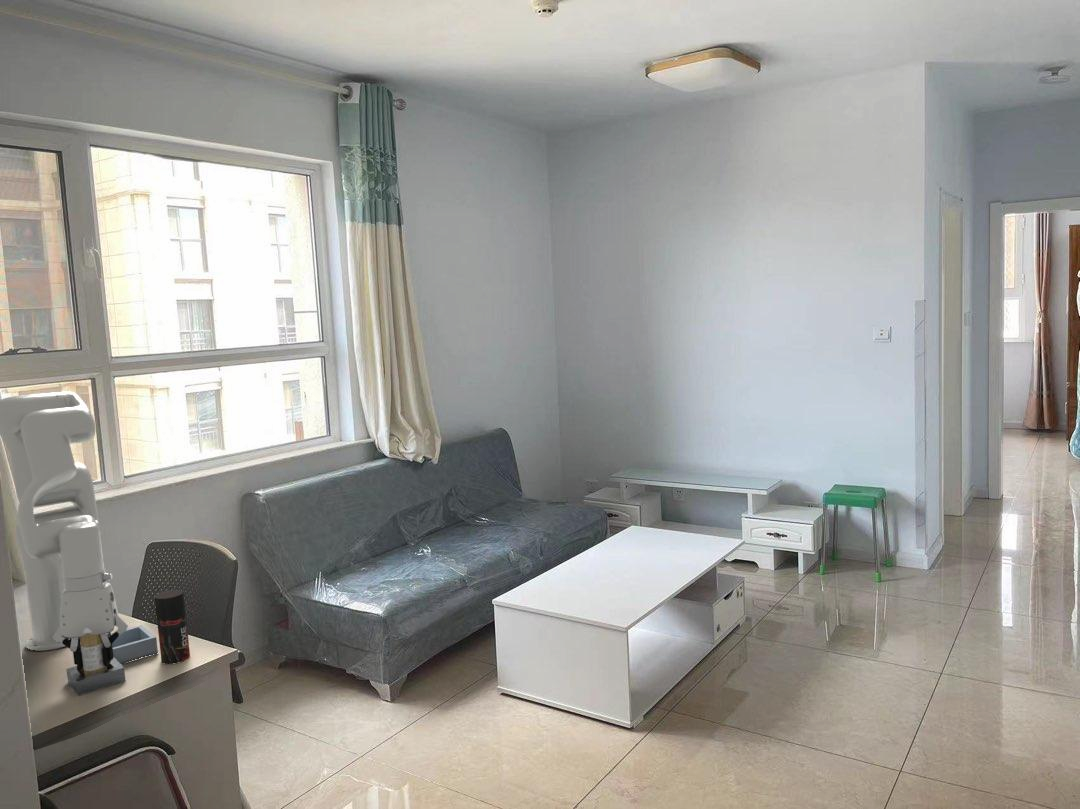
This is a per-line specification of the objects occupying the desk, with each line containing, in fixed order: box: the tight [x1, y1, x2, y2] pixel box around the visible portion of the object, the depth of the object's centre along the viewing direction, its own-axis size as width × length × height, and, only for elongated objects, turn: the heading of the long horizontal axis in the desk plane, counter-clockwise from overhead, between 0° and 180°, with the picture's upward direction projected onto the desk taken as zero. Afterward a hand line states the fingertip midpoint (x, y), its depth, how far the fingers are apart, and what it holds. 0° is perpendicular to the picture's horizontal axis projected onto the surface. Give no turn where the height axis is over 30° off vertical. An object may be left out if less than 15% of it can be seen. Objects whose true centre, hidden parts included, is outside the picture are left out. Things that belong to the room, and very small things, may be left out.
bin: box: [111, 624, 159, 665], centre depth 187 cm, size 11×11×4 cm
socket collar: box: [65, 657, 126, 697], centre depth 173 cm, size 9×9×3 cm
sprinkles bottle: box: [80, 628, 107, 676], centre depth 173 cm, size 5×5×13 cm
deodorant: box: [154, 589, 191, 665], centre depth 183 cm, size 6×6×15 cm
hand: (94, 664), depth 173 cm, fingers closed on sprinkles bottle, 4 cm apart
